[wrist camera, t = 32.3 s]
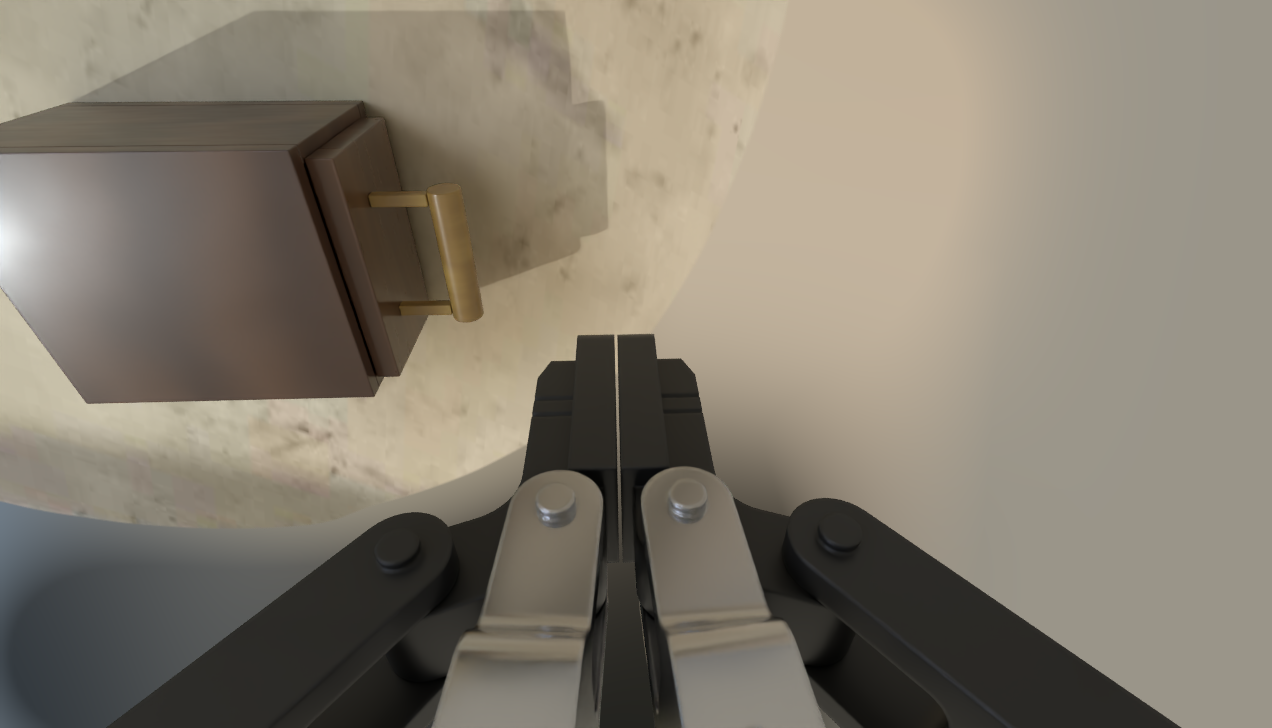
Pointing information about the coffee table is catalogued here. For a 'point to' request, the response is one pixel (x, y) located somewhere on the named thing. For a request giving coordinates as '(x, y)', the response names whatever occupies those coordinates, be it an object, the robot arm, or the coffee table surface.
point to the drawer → (389, 242)
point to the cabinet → (179, 250)
